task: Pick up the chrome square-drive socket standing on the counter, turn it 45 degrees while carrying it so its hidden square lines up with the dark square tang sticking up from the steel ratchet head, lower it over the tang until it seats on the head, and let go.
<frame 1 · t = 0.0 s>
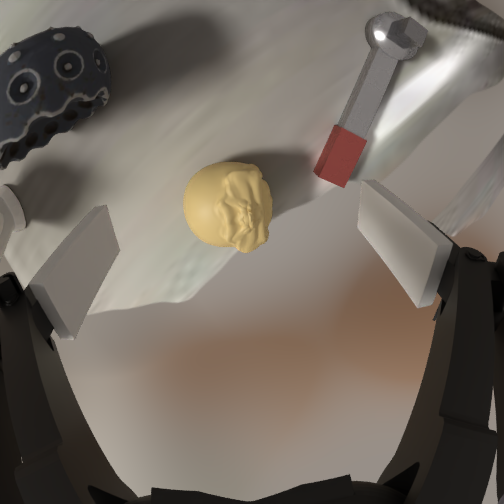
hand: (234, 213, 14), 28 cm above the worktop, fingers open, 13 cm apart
ring: (74, 93, 31), on the worktop
ratchet: (387, 37, 30), on the worktop
sculpture: (228, 191, 42), on the worktop
soap bottle: (10, 209, 39), on the worktop
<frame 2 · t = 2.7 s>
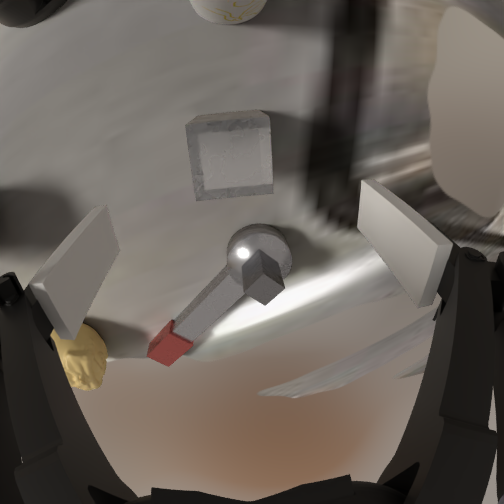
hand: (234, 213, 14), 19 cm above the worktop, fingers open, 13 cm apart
ratchet: (257, 251, 38), on the worktop
socket: (230, 140, 30), on the worktop
sculpture: (84, 333, 45), on the worktop
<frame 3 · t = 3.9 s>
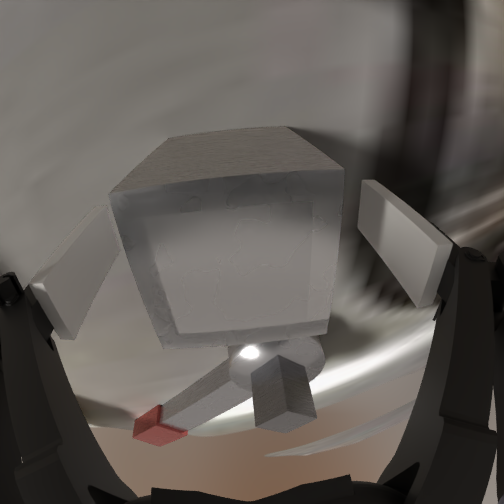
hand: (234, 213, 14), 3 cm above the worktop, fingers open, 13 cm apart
ratchet: (273, 343, 25), on the worktop
socket: (231, 184, 17), on the worktop
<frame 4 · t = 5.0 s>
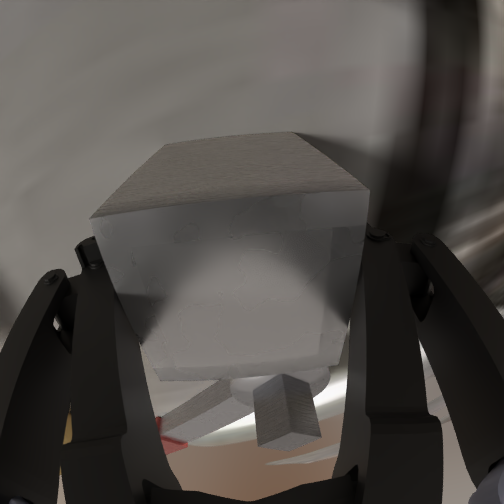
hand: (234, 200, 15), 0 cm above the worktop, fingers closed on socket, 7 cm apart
ratchet: (276, 358, 23), on the worktop
socket: (233, 195, 15), on the worktop, touching gripper
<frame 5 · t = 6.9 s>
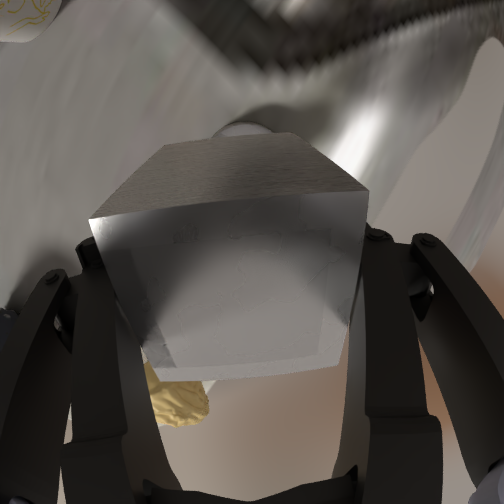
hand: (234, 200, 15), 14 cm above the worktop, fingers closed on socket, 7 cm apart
ring: (23, 326, 38), on the worktop
ratchet: (244, 160, 28), on the worktop
cup: (35, 11, 14), on the worktop
socket: (233, 195, 15), point 14 cm above the worktop, touching gripper
sculpture: (171, 367, 45), on the worktop
when the fingers open (5 cm above the worktop, at t = 8.8 s): socket drops 2 cm, resting on ratchet.
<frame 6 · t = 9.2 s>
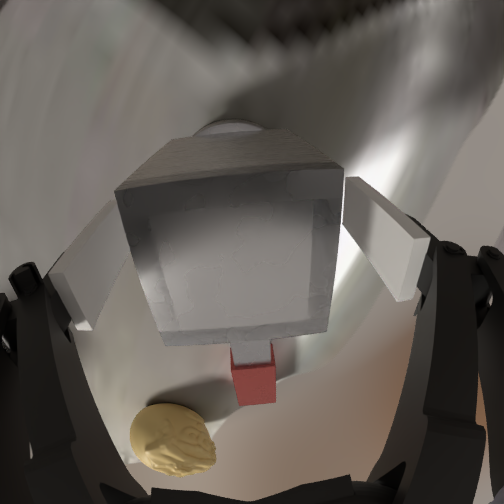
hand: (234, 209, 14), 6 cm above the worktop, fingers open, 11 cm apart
ratchet: (233, 174, 20), on the worktop
socket: (233, 186, 17), point 3 cm above the worktop, touching ratchet
sculpture: (173, 411, 37), on the worktop
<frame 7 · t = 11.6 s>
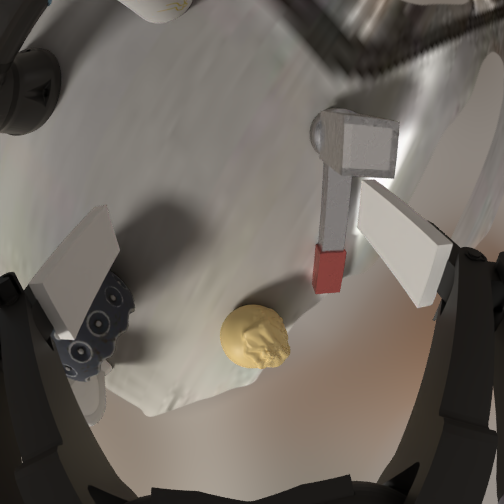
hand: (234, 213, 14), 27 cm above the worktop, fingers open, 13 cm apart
ring: (103, 285, 49), on the worktop
ratchet: (336, 134, 37), on the worktop
cup: (164, 0, 26), on the worktop
socket: (343, 136, 35), point 3 cm above the worktop, touching ratchet
sculpture: (252, 317, 54), on the worktop
soap bottle: (94, 359, 60), on the worktop
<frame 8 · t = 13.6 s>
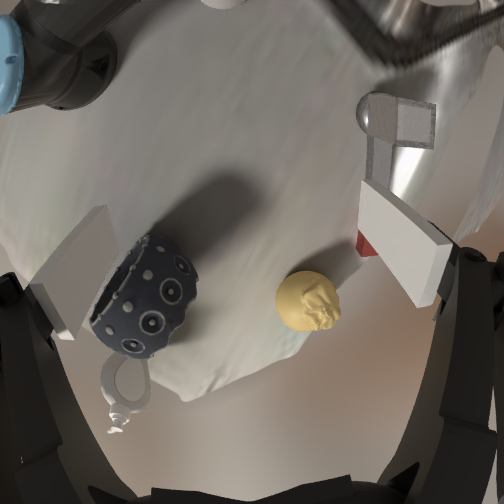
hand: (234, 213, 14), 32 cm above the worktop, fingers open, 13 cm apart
ring: (153, 262, 52), on the worktop
ratchet: (377, 114, 40), on the worktop
socket: (385, 115, 37), point 3 cm above the worktop, touching ratchet
sculpture: (301, 285, 58), on the worktop
soap bottle: (134, 344, 64), on the worktop
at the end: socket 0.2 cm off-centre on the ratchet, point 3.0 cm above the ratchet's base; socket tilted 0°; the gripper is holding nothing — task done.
